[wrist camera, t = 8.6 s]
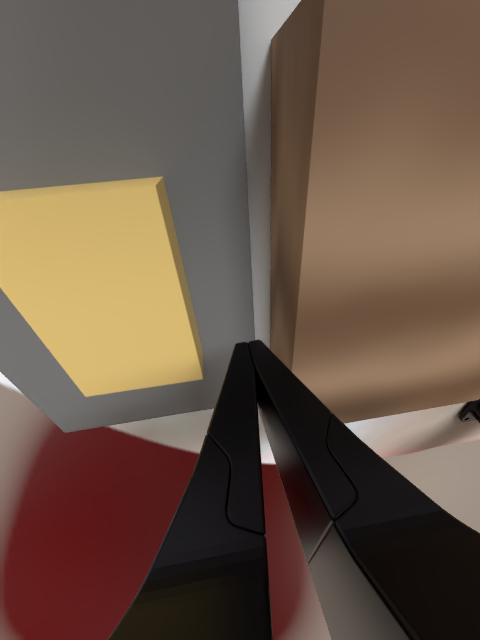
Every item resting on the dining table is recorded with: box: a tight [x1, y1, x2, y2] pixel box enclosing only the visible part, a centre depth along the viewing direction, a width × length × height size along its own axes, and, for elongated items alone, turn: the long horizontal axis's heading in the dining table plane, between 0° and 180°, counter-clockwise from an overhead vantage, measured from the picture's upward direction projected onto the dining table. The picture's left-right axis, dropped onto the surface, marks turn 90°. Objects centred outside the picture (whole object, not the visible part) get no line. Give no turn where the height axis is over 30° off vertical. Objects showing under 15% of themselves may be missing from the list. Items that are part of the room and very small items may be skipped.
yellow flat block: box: [0, 177, 203, 397], centre depth 10 cm, size 9×6×2 cm, turn 4°
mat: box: [0, 0, 255, 433], centre depth 12 cm, size 20×14×1 cm
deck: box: [270, 0, 480, 424], centre depth 11 cm, size 16×12×4 cm
